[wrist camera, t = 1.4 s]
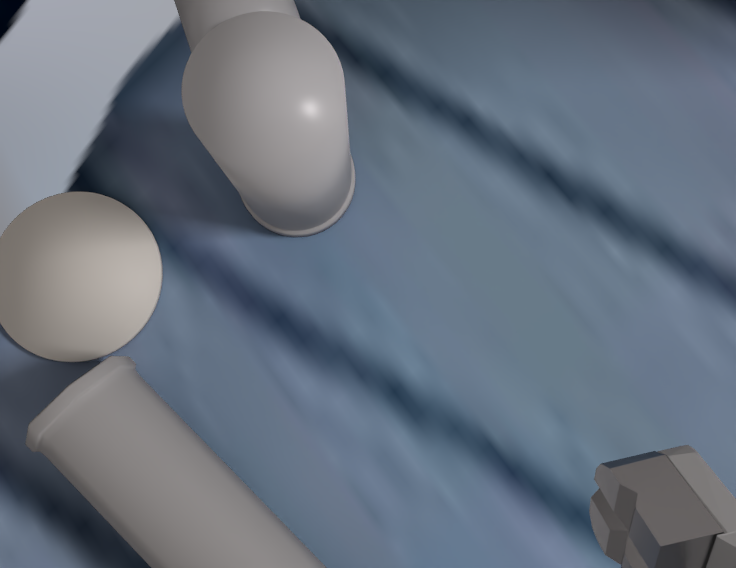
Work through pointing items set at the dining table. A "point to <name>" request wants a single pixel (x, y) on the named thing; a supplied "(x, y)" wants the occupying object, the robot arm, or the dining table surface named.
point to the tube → (158, 477)
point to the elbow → (270, 110)
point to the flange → (77, 276)
